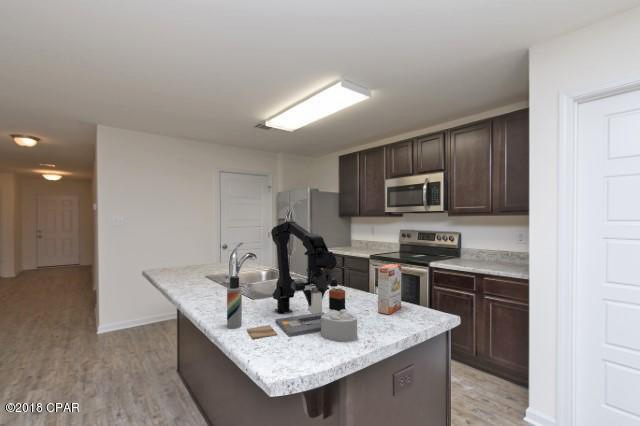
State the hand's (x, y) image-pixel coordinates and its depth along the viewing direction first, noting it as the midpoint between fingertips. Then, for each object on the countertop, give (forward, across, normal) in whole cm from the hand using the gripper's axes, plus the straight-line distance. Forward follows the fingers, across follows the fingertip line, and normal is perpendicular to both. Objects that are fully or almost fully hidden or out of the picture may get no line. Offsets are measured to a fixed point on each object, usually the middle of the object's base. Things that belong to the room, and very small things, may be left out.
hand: (314, 305), depth 126 cm
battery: (+8, +18, +14) cm, 24 cm away
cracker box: (+8, +39, +1) cm, 40 cm away
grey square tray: (+8, -3, 0) cm, 8 cm away
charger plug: (+3, 0, 0) cm, 3 cm away
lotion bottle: (+8, -30, +12) cm, 33 cm away
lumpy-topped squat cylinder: (+8, +3, -16) cm, 18 cm away
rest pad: (+8, -22, 0) cm, 23 cm away
